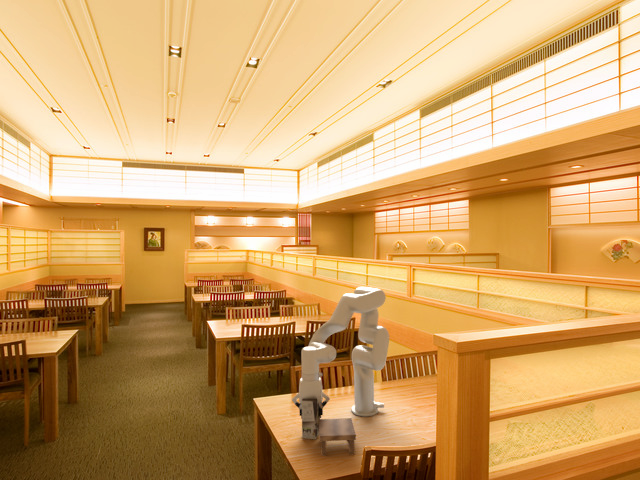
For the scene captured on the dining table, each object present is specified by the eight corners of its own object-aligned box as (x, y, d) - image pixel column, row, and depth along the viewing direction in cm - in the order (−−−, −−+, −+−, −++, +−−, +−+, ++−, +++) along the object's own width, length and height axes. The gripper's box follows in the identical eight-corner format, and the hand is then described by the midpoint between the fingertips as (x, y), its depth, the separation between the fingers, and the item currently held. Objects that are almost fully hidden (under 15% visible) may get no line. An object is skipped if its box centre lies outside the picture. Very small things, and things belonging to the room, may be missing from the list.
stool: (351, 436, 166) (351, 418, 166) (356, 455, 152) (355, 434, 152) (318, 438, 166) (318, 419, 165) (320, 456, 152) (319, 436, 151)
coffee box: (316, 439, 164) (315, 401, 164) (301, 438, 166) (301, 400, 165) (320, 429, 173) (320, 392, 173) (306, 428, 175) (306, 391, 174)
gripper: (330, 372, 173) (330, 412, 173) (290, 373, 173) (291, 413, 173) (331, 378, 166) (331, 420, 166) (289, 379, 165) (290, 421, 165)
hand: (311, 416), depth 169 cm, fingers closed on coffee box, 7 cm apart
